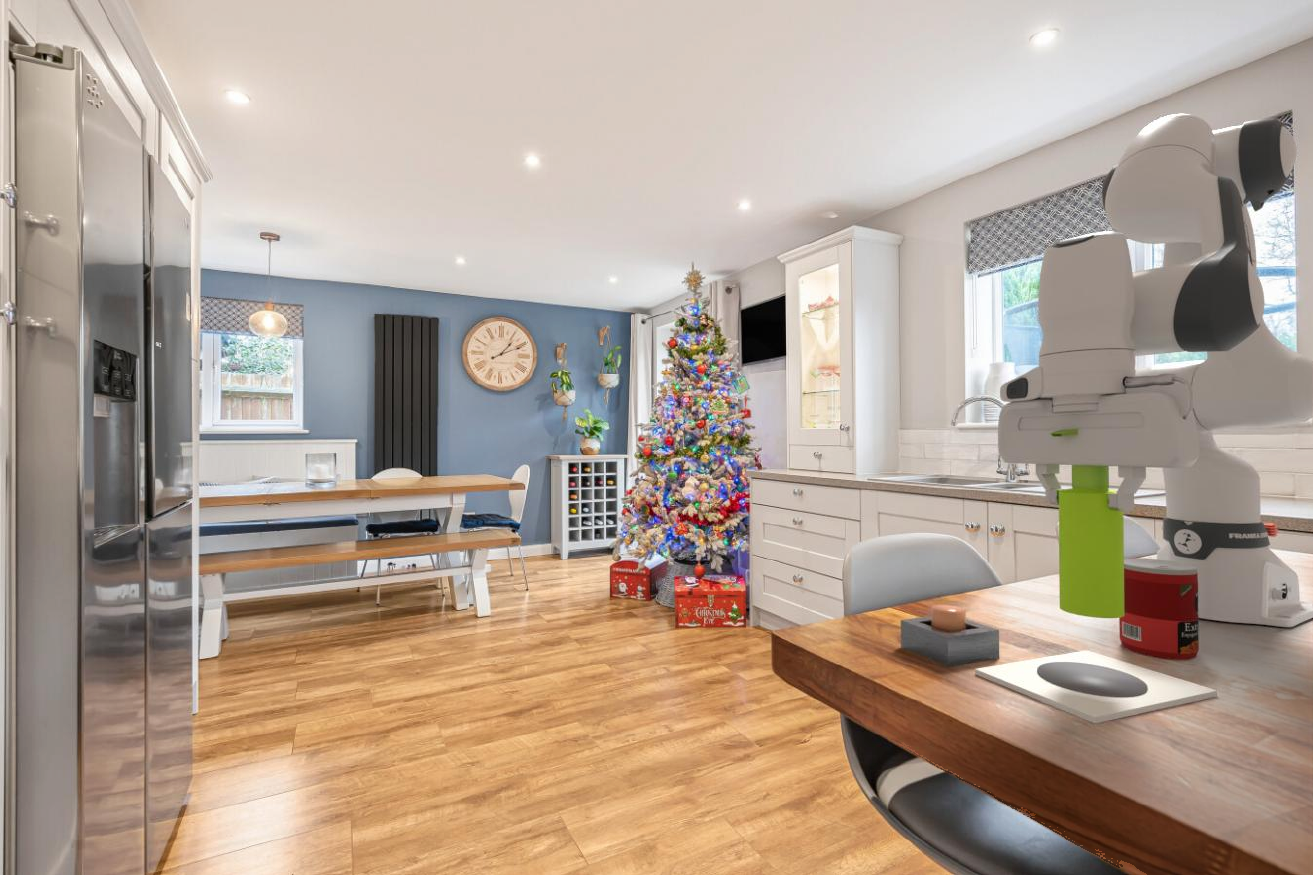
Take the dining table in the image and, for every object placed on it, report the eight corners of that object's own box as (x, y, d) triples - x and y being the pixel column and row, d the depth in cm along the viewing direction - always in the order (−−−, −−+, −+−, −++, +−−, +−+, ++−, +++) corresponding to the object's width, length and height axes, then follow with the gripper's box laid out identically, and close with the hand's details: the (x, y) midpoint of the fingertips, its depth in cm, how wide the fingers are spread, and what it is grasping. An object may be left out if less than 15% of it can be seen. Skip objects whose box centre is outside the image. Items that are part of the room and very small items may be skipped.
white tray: (1086, 654, 80) (1086, 648, 80) (1217, 696, 67) (1217, 688, 67) (975, 674, 74) (975, 667, 74) (1094, 723, 61) (1094, 715, 61)
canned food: (1197, 665, 76) (1196, 572, 76) (1115, 651, 82) (1113, 564, 82) (1201, 649, 82) (1199, 562, 82) (1123, 637, 87) (1122, 555, 87)
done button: (948, 626, 84) (948, 603, 84) (973, 635, 80) (973, 611, 80) (924, 630, 83) (923, 606, 83) (948, 638, 79) (947, 614, 79)
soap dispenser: (1038, 605, 73) (1037, 429, 73) (1096, 604, 74) (1094, 429, 74) (1076, 619, 67) (1074, 427, 68) (1138, 617, 68) (1136, 428, 68)
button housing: (949, 639, 87) (948, 613, 87) (999, 658, 79) (998, 629, 79) (901, 646, 84) (900, 619, 84) (948, 666, 76) (947, 637, 76)
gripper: (1213, 372, 62) (1215, 515, 62) (1026, 389, 81) (1027, 499, 81) (1169, 369, 60) (1172, 518, 60) (988, 388, 79) (989, 501, 79)
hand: (1087, 507), depth 71 cm, fingers closed on soap dispenser, 6 cm apart
